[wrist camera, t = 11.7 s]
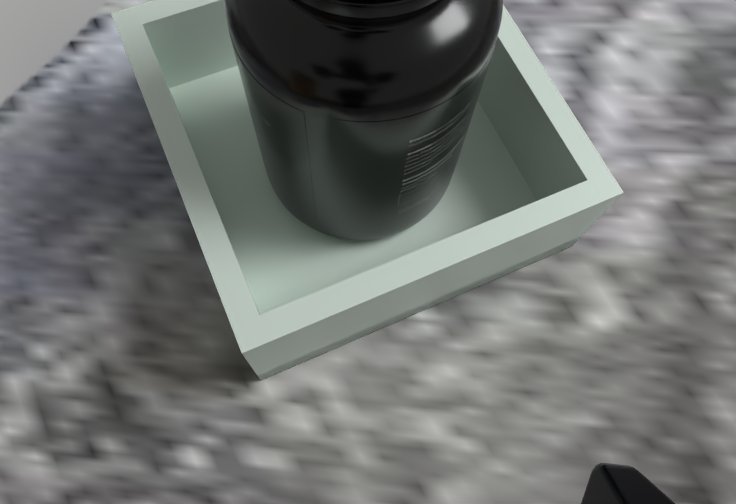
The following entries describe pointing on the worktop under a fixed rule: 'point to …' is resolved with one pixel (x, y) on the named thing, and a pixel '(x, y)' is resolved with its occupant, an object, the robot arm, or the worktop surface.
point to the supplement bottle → (362, 102)
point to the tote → (356, 257)
